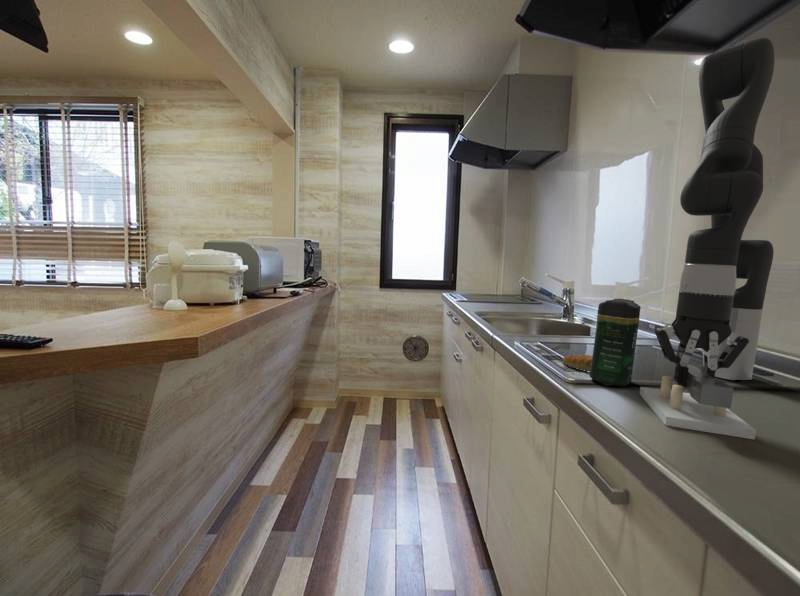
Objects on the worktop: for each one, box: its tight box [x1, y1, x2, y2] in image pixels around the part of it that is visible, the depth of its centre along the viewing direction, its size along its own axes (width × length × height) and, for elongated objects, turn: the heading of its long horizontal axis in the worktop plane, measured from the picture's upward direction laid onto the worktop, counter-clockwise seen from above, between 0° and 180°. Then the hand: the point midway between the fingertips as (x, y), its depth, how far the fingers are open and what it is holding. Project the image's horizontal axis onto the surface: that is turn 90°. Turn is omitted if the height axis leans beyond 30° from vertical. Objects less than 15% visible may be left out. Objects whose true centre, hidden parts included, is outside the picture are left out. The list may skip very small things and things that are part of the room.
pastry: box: [562, 354, 593, 371], centre depth 97 cm, size 9×7×4 cm
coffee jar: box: [589, 298, 641, 387], centre depth 86 cm, size 10×8×19 cm
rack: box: [639, 375, 757, 440], centre depth 70 cm, size 16×12×6 cm
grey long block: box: [673, 363, 734, 409], centre depth 67 cm, size 14×4×3 cm, turn 162°
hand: (692, 387), depth 69 cm, fingers closed on grey long block, 2 cm apart
